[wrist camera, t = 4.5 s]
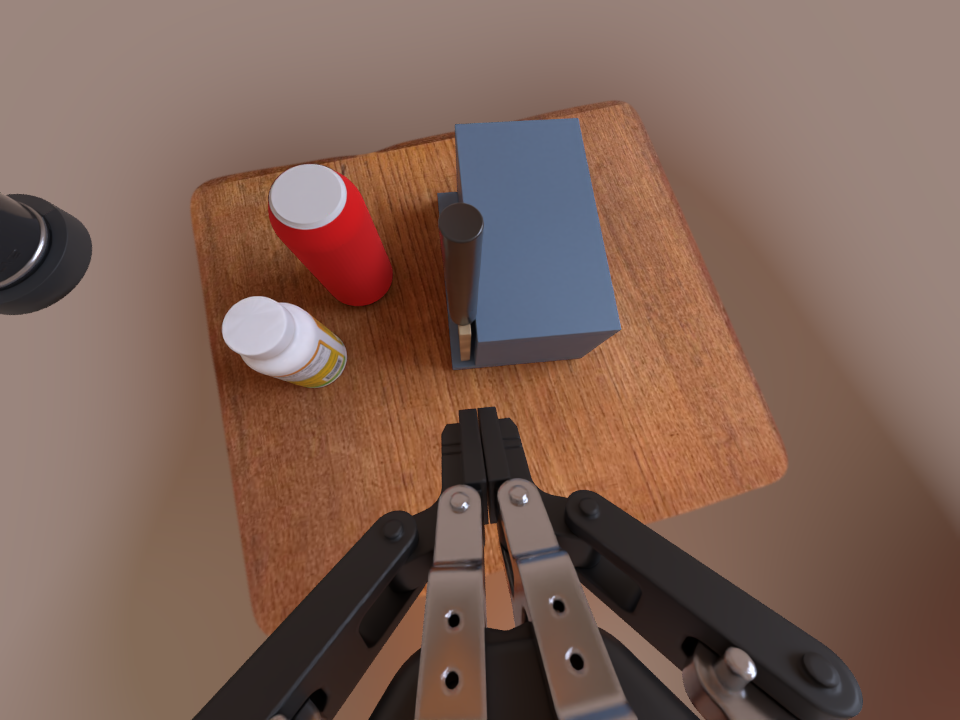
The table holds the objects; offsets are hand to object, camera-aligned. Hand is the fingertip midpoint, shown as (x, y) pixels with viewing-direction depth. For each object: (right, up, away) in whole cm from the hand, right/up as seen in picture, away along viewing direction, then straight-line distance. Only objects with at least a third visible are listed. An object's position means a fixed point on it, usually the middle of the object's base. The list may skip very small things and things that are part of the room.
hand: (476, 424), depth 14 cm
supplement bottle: (-15, +3, +17) cm, 23 cm away
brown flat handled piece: (-2, +7, +17) cm, 18 cm away
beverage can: (-11, +10, +19) cm, 24 cm away
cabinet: (+3, +11, +20) cm, 23 cm away
